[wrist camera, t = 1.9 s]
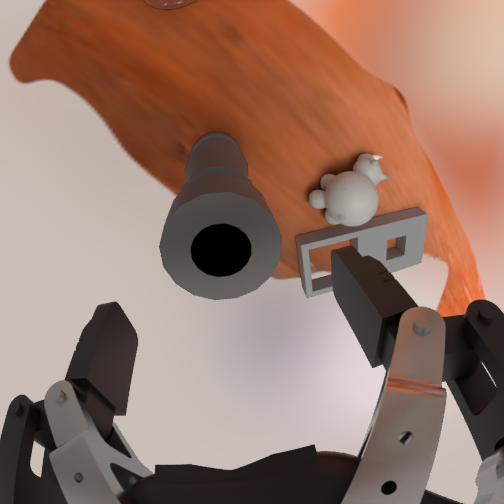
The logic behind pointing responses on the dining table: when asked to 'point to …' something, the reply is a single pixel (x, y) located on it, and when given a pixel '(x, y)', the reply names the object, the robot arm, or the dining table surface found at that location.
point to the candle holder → (219, 225)
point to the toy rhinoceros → (350, 193)
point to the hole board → (368, 244)
